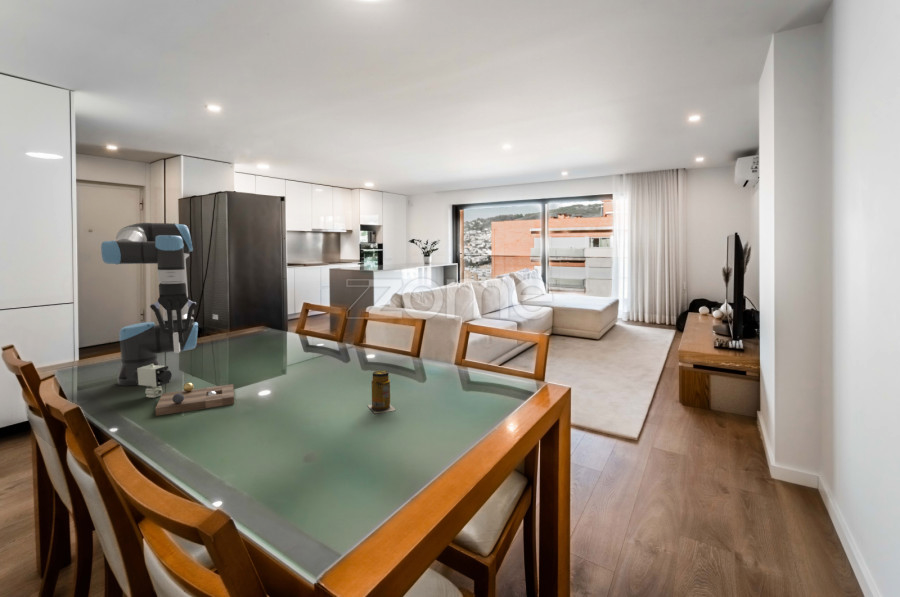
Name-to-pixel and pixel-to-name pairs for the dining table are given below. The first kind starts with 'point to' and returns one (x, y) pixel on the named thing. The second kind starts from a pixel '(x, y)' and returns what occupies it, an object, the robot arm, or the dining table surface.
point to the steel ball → (211, 393)
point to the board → (196, 400)
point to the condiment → (380, 392)
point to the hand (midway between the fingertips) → (177, 352)
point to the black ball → (178, 398)
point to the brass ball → (188, 387)
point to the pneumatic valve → (152, 378)
